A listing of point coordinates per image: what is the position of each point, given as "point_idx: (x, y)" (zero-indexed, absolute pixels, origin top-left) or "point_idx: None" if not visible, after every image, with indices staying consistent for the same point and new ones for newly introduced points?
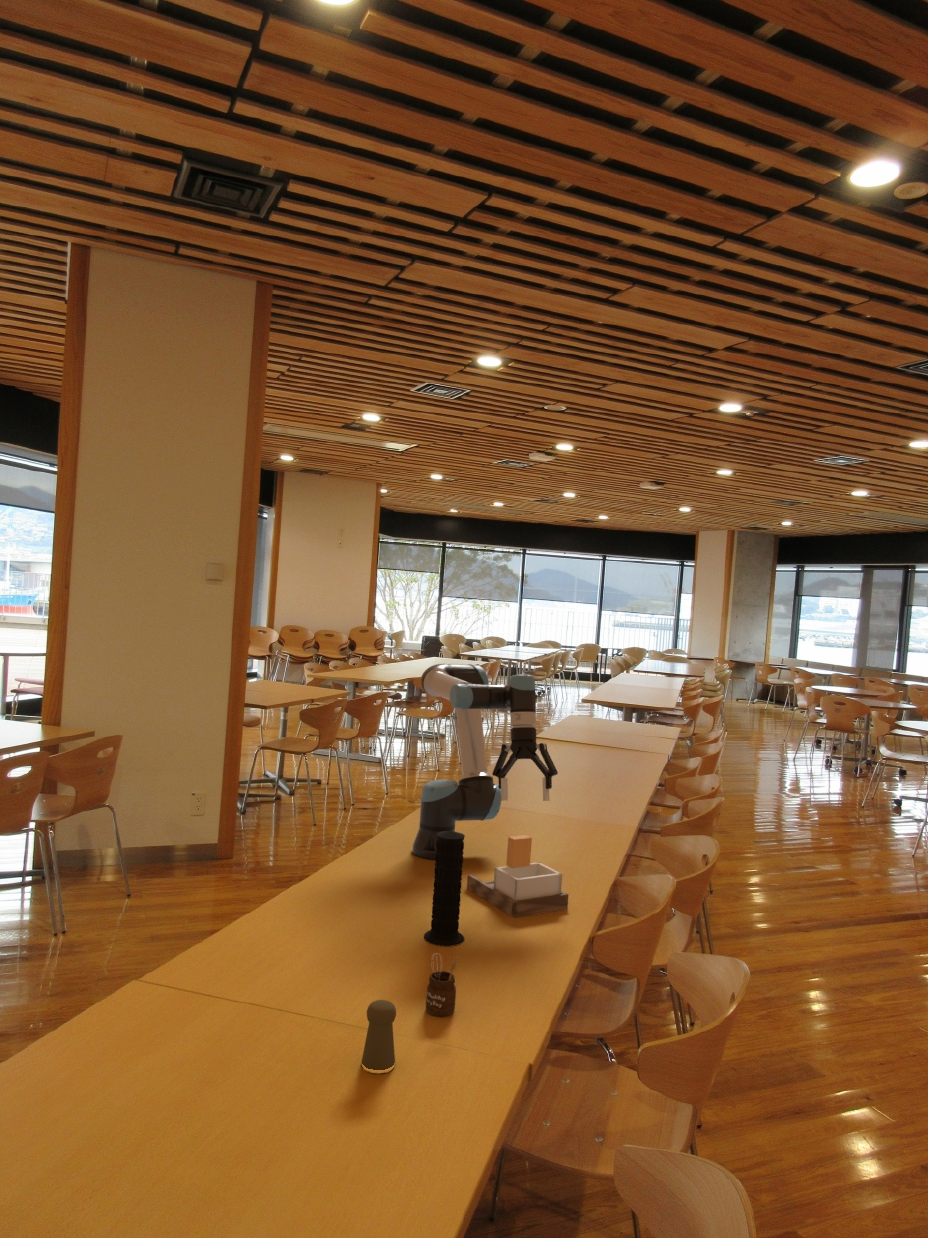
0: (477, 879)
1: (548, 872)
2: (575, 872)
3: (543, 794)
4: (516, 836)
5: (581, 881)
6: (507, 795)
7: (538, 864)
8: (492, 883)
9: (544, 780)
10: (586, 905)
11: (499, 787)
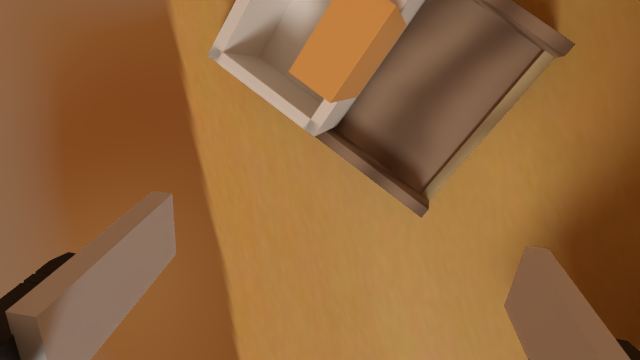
0: (519, 14)
1: (264, 79)
2: (309, 347)
3: (140, 215)
4: (359, 40)
5: (276, 287)
6: (519, 330)
7: (308, 116)
8: (482, 115)
9: (36, 291)
10: (211, 120)
11: (633, 354)
